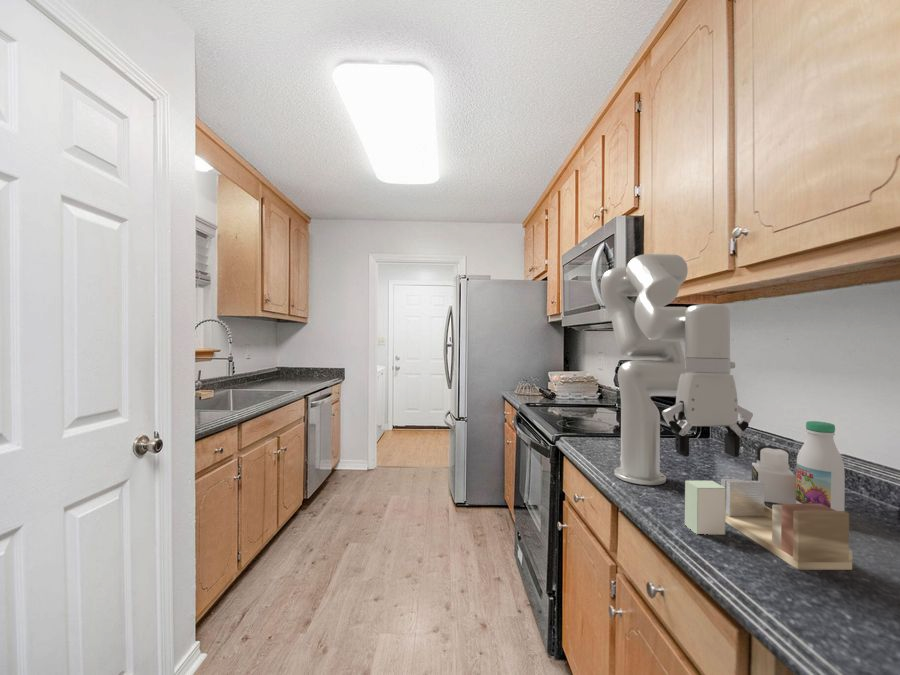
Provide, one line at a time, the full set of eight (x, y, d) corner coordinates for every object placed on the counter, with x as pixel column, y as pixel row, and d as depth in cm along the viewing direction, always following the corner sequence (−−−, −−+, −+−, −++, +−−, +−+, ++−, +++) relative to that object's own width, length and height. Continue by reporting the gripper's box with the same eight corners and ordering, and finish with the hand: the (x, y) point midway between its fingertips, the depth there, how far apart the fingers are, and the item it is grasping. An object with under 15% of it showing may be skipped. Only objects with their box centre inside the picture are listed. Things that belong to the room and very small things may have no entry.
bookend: (713, 506, 90) (713, 474, 90) (746, 506, 90) (746, 474, 90) (729, 516, 85) (730, 482, 85) (764, 516, 85) (764, 482, 85)
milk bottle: (820, 509, 92) (821, 419, 92) (855, 525, 84) (856, 426, 84) (786, 509, 92) (787, 419, 92) (818, 525, 84) (819, 426, 84)
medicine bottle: (751, 490, 103) (751, 442, 103) (787, 496, 99) (788, 446, 99) (756, 500, 96) (757, 449, 96) (795, 506, 93) (796, 453, 93)
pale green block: (684, 525, 83) (685, 480, 83) (711, 525, 84) (712, 480, 83) (697, 534, 79) (697, 487, 79) (725, 534, 79) (725, 488, 79)
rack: (704, 508, 92) (705, 467, 92) (745, 508, 92) (745, 467, 92) (798, 569, 68) (798, 513, 68) (852, 569, 68) (852, 513, 68)
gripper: (736, 366, 85) (737, 450, 85) (653, 366, 85) (653, 450, 84) (765, 368, 78) (765, 460, 77) (674, 367, 77) (674, 460, 77)
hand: (707, 455), depth 81 cm, fingers open, 9 cm apart
